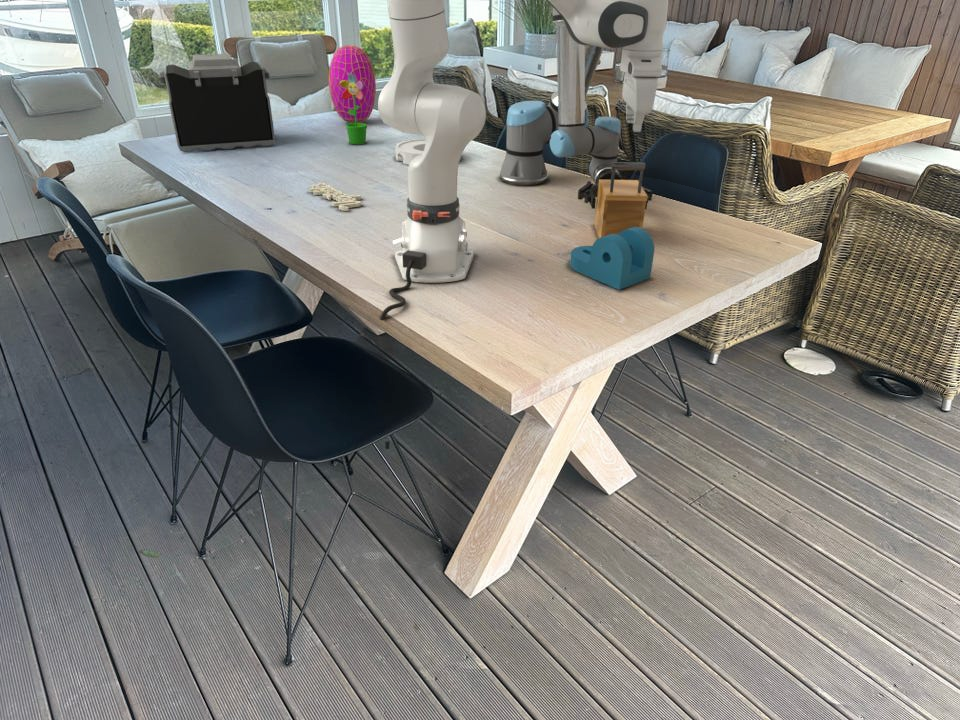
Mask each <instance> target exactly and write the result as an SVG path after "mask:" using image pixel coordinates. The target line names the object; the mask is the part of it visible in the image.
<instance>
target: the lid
mask: <svg viewBox="0 0 960 720" xmlns="http://www.w3.org/2000/svg"><path fill="white" fill-rule="evenodd" d="M611 169H612V175H611V180H602V179H599V186H600V188H601V191H602V193H603V195H604V198H605V200H619V201H647V198H648V196H647V194H646V193H645V191H644V189H643V188H642V187H643V177H644V171H645V170H646V162H629V161H628V162H627V161H617V162H612V166H611ZM615 170H617V171H639V177H638V179H622V180H614V178H615Z"/></svg>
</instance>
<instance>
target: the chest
mask: <svg viewBox="0 0 960 720" xmlns="http://www.w3.org/2000/svg"><path fill="white" fill-rule="evenodd" d="M645 206H646V201H619V200H605V198H604V195H603V193H602V191H601V188H600V186H599V185H598V195H597V197H596V204H595V215H594V228H595V231H596V234H597V237H598V239H599V238H601V237H604V236H607V235H610V234H617V235H618V234H619V233H620V232H621V231H623V230H626V229H629V228H633V227H640V228H642V229H644V228H643V227H644V220H645V213H646V209H645Z"/></svg>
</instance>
